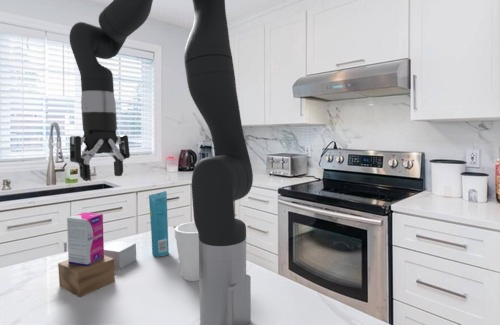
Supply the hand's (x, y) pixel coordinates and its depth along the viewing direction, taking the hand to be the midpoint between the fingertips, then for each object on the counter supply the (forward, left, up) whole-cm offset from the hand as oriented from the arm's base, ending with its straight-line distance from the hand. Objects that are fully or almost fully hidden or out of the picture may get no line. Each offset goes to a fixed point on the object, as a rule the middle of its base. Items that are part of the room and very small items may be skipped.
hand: (103, 177), depth 78 cm
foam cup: (-16, -14, -27) cm, 34 cm away
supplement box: (+2, +4, -21) cm, 21 cm away
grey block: (+8, -8, -26) cm, 29 cm away
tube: (+3, -19, -27) cm, 33 cm away
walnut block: (+3, +4, -26) cm, 27 cm away
